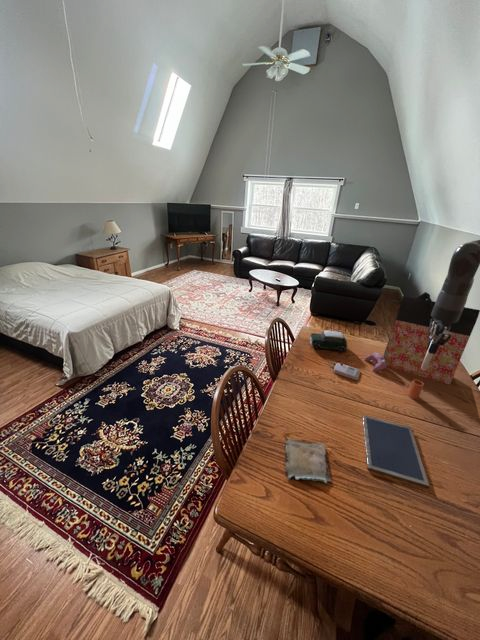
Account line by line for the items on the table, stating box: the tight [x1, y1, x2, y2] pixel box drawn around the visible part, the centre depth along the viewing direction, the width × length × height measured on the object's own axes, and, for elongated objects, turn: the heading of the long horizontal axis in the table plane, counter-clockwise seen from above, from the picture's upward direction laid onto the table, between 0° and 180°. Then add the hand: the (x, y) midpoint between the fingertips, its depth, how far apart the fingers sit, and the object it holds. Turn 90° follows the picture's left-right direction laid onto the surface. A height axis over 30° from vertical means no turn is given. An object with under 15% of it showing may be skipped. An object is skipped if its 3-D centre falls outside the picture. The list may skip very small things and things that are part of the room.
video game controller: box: [363, 352, 388, 373], centre depth 120 cm, size 10×5×7 cm, turn 0°
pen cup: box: [407, 379, 425, 400], centre depth 102 cm, size 4×4×7 cm
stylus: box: [421, 341, 433, 371], centre depth 94 cm, size 2×2×13 cm
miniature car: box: [309, 329, 348, 353], centre depth 134 cm, size 9×18×8 cm, turn 80°
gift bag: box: [382, 291, 480, 385], centre depth 114 cm, size 29×14×35 cm, turn 60°
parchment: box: [284, 438, 332, 485], centre depth 76 cm, size 12×13×1 cm
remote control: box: [327, 361, 362, 381], centre depth 116 cm, size 7×16×3 cm, turn 58°
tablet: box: [361, 414, 430, 489], centre depth 82 cm, size 15×21×1 cm
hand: (430, 351), depth 94 cm, fingers closed on stylus, 2 cm apart
